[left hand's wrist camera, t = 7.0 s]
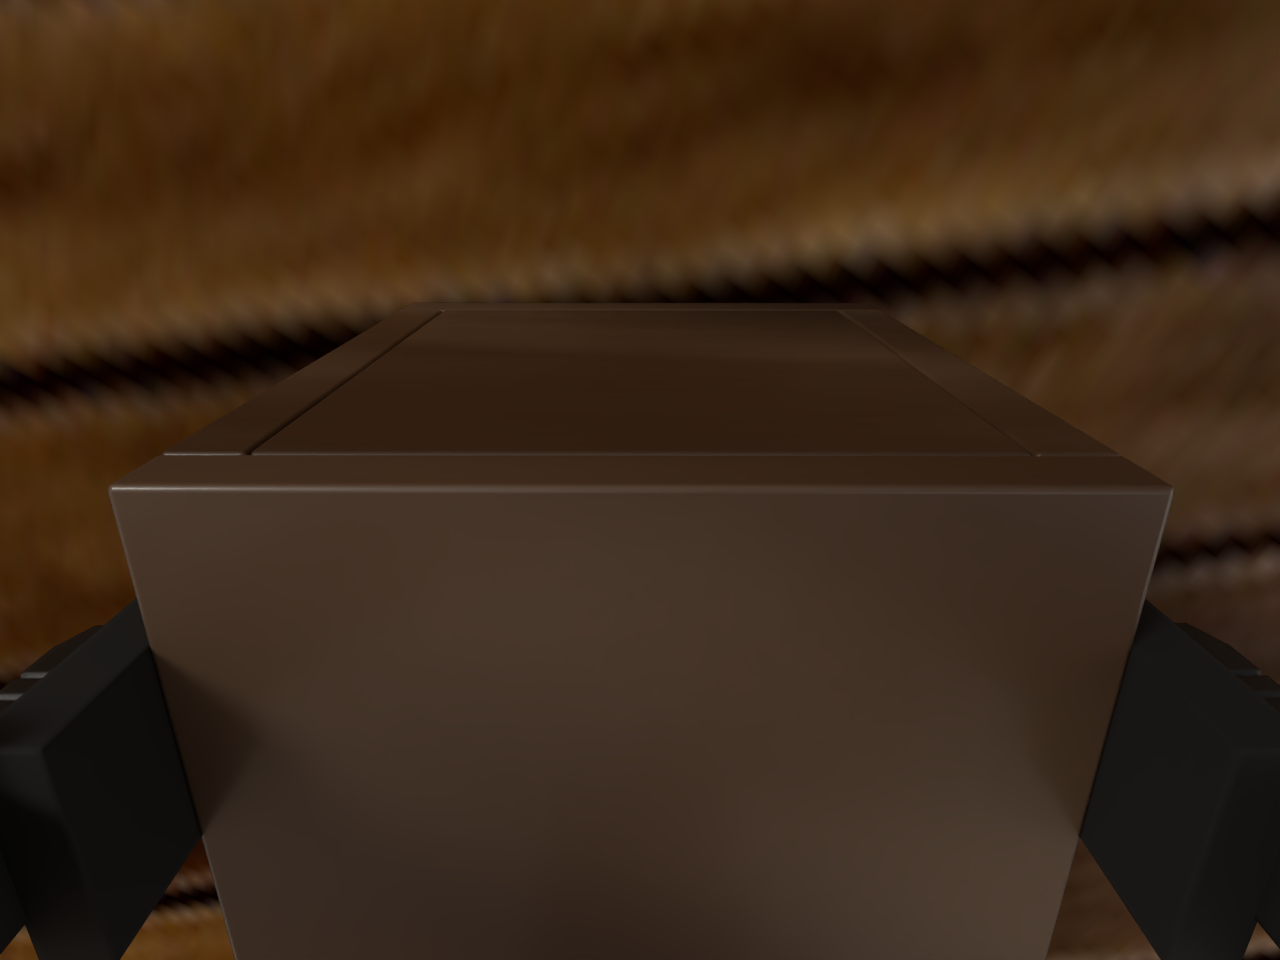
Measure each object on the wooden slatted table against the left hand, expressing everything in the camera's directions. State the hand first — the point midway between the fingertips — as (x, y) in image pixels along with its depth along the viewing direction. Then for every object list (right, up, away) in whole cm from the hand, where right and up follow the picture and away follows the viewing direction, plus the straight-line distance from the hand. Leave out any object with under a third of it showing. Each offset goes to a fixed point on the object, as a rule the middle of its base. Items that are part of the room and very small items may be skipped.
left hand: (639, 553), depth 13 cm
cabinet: (0, -2, +8) cm, 8 cm away
